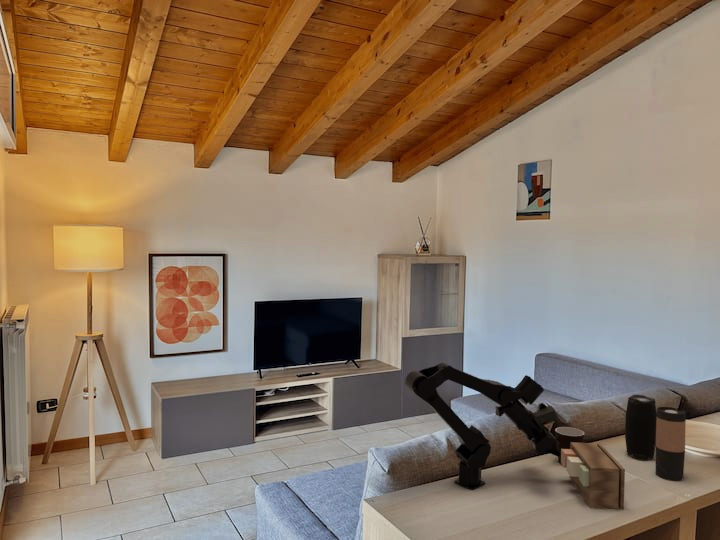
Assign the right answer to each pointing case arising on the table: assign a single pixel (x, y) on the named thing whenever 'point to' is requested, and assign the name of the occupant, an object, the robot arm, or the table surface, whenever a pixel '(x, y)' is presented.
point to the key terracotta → (567, 455)
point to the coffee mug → (567, 438)
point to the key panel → (600, 477)
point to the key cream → (574, 465)
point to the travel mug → (670, 443)
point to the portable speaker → (641, 427)
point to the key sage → (584, 475)
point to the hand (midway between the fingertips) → (558, 455)
